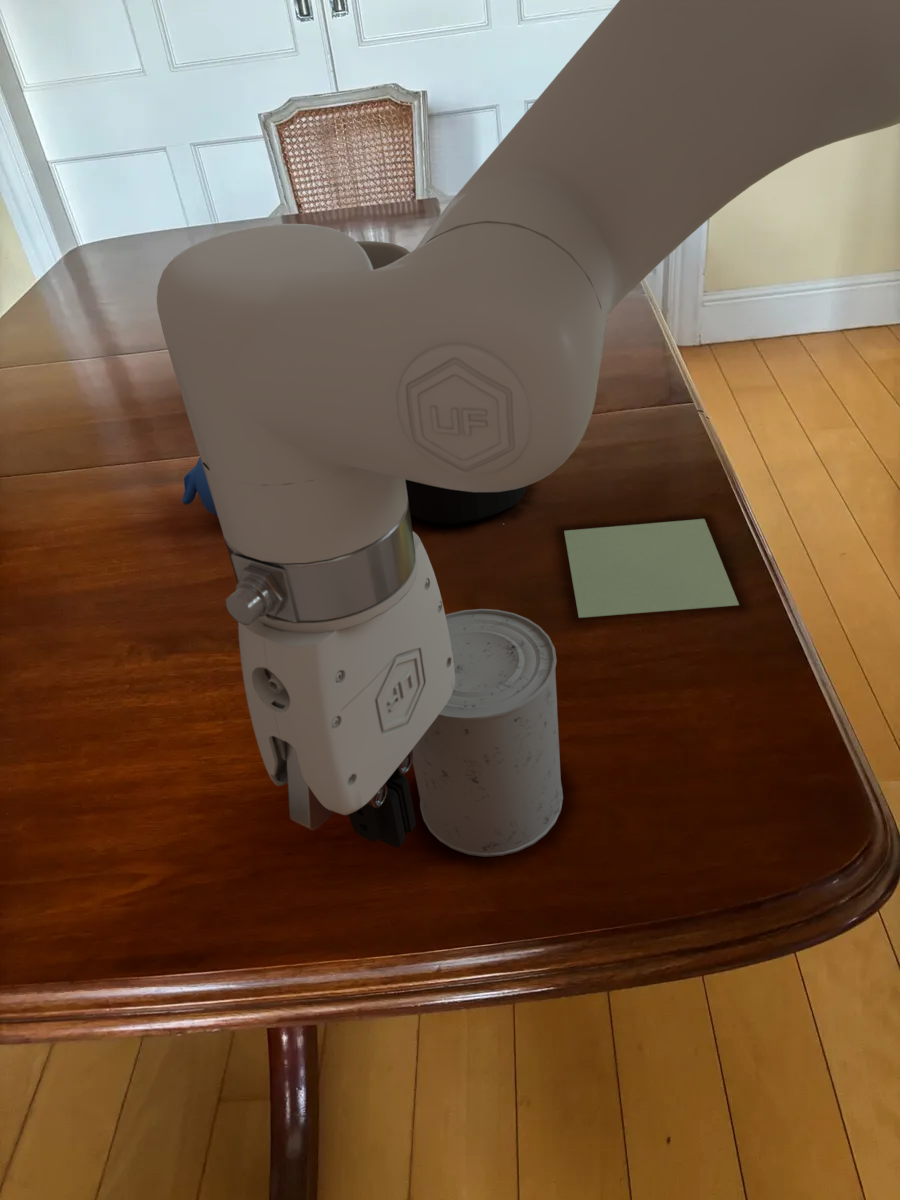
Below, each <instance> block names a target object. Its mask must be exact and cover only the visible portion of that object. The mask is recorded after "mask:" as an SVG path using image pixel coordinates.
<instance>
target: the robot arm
mask: <svg viewBox="0 0 900 1200" xmlns="http://www.w3.org/2000/svg"><path fill="white" fill-rule="evenodd" d="M899 124H900V0H618V2H617V3H616V4H615V5H614V7H613V8H612V9H611V10H610V11H609V13H608V14H607V15H606V17H605V18H604V19H603V20H602V21H601V22H600V23H599V25H598V26H596V28H595V29H594V31H593V32H592V33H591V34H590V36H588V38H587V39H586V40H585V41H584V43H583V44H582V45H581V46H580V48H579V49H578V50H576V52H575V53H574V54H573V56H572V57H571V58H570V59H569V60H568V62H567V63H566V64H565V66H563V68H562V69H561V70H560V71H559V72H558V74H557V75H556V76H555V77H554V78H553V80H552V81H551V82H550V83H549V84H548V85H547V87H546V88H544V90H543V91H542V93H541V94H540V95H539V96H538V98H537V99H536V100H535V101H534V103H532V105H531V106H530V107H529V108H528V110H526V112H525V113H524V114H523V115H522V117H521V118H520V119H519V120H518V121H517V123H516V124H515V125H514V126H513V127H512V129H511V130H510V131H509V132H508V133H507V134H506V136H505V137H504V138H503V139H502V141H501V142H500V143H499V144H498V145H497V147H495V149H494V150H493V151H492V152H491V153H490V155H489V156H488V157H487V158H486V159H485V161H484V162H483V163H482V164H481V165H480V166H479V168H478V169H477V170H476V171H475V172H474V174H473V175H472V176H471V177H470V178H469V180H467V182H465V184H464V185H463V187H461V189H460V190H458V192H457V193H456V195H455V196H454V197H453V198H452V200H451V201H450V202H449V203H448V204H447V205H446V207H444V210H443V211H442V212H441V213H440V215H439V216H438V217H437V218H436V220H435V221H434V222H433V224H432V225H431V226H430V227H429V229H428V230H427V232H426V233H425V234H424V235H423V237H422V238H421V240H420V242H419V243H418V244H417V246H416V247H415V249H413V250H412V251H409V252H410V253H409V254H407V255H405V256H403V257H402V258H400V259H398V260H396V261H394V262H393V263H391V264H389V265H387V266H384V267H381V268H378V269H375V270H374V269H373V267H372V264H371V262H370V259H369V257H368V256H367V254H366V252H365V250H364V249H363V248H362V247H361V246H360V245H359V244H358V243H357V242H356V241H357V240H356V239H354V238H353V237H352V236H350V235H348V234H346V233H344V232H343V231H341V230H338V229H335V228H333V227H329V226H323V225H315V224H308V223H307V224H306V223H277V224H265V225H258V226H252V227H251V226H250V227H246V228H241V229H237V230H232V231H227V232H225V233H221V234H218V235H215V236H212V237H209V238H206V239H204V240H202V241H199V242H197V243H194V245H191V246H189V247H188V248H185V249H184V250H182V251H181V252H179V253H178V254H176V255H175V256H174V257H173V258H172V259H171V260H170V262H169V263H168V264H167V265H166V266H165V268H164V269H163V270H162V272H161V274H160V275H161V276H160V278H159V281H158V284H157V289H156V310H157V314H158V317H159V322H160V326H161V330H162V334H163V337H164V340H165V344H166V347H167V351H168V354H169V358H170V361H171V364H172V368H173V370H174V374H175V378H176V382H177V385H178V388H179V391H180V395H181V397H182V398H181V399H182V401H183V405H184V407H185V412H186V415H187V418H188V421H189V425H190V429H191V431H192V435H193V438H194V442H195V446H196V449H197V452H198V456H199V458H200V459H201V462H202V465H203V469H204V472H205V475H206V479H207V482H208V485H209V489H210V492H211V495H212V499H213V502H214V505H215V508H216V512H217V515H218V517H217V518H218V521H219V525H220V529H221V531H222V534H223V540H224V543H225V547H226V550H227V553H228V556H229V560H230V563H231V566H232V567H231V568H232V570H233V573H234V577H235V580H236V583H237V584H236V586H235V591H234V592H232V593H231V594H230V595H229V596H228V597H226V598H225V608H226V609H227V612H228V613H229V615H230V616H231V617H232V618H233V620H235V621H236V622H237V630H238V631H237V632H238V644H239V645H238V647H239V656H240V665H241V672H242V678H243V679H242V680H243V685H244V691H245V698H246V702H247V707H248V713H249V716H250V720H251V725H252V728H253V733H254V735H255V741H256V742H257V746H258V749H259V753H260V756H261V759H262V762H263V765H264V767H265V769H266V772H267V774H268V776H269V778H270V780H271V782H272V783H273V784H274V785H275V786H277V787H282V786H285V785H287V793H288V794H287V795H288V812H289V820H290V821H291V822H293V823H295V824H297V825H299V826H301V827H304V828H306V829H308V830H311V831H316V830H318V829H319V828H320V827H321V826H322V825H324V823H325V822H326V821H328V820H329V819H330V818H331V817H332V816H333V815H335V814H339V815H342V816H348V818H349V821H350V825H351V826H352V829H353V830H354V832H355V833H356V834H357V835H358V836H360V837H361V838H363V839H366V840H368V841H370V842H377V841H380V842H383V843H385V844H387V845H390V846H391V847H394V848H397V849H398V848H400V847H401V846H402V845H403V844H404V842H405V840H406V834H411V832H412V831H413V830H414V828H415V827H416V826H417V822H416V816H415V811H414V805H413V800H412V799H413V798H412V795H411V789H410V782H409V778H407V777H405V775H407V773H409V771H410V769H411V767H412V765H413V747H414V746H415V745H416V744H417V742H418V741H419V740H420V739H421V737H422V736H423V735H424V733H425V732H426V731H427V729H428V728H429V727H430V726H431V724H432V723H433V722H434V720H435V719H436V718H437V716H438V715H439V714H440V712H441V711H442V710H443V708H444V707H445V705H446V704H447V702H448V700H449V699H450V697H451V695H452V692H453V690H454V686H455V670H454V661H453V654H452V648H451V642H450V636H449V631H448V625H447V621H446V616H445V615H446V612H445V607H444V603H443V598H442V595H441V591H440V587H439V584H438V581H437V577H436V574H435V571H434V568H433V566H432V562H431V559H430V558H429V555H428V553H427V550H426V548H425V546H424V543H423V542H422V540H421V538H420V537H419V535H418V534H417V533H416V532H415V531H413V525H412V517H411V514H410V510H409V503H408V495H407V488H406V481H405V479H406V480H410V481H414V482H418V483H422V484H427V485H431V486H436V487H441V488H446V489H452V490H459V491H468V492H502V491H508V490H514V489H518V488H522V487H525V486H527V487H528V486H530V485H533V484H535V483H537V482H540V481H542V480H543V479H545V478H546V477H548V476H550V475H551V474H553V473H554V472H556V471H557V470H558V469H559V468H560V467H561V466H562V465H564V463H565V462H567V460H569V458H570V457H571V455H573V453H574V452H575V451H576V449H577V448H578V447H579V445H580V443H581V441H582V439H583V437H584V436H585V434H586V432H587V428H588V426H589V424H590V420H591V417H592V415H593V412H594V408H595V405H596V404H595V403H596V399H597V392H598V384H599V378H600V372H601V365H602V358H603V354H604V353H603V352H604V343H605V339H606V338H605V337H606V331H607V323H608V316H609V315H610V313H611V312H612V311H613V310H614V309H615V308H616V307H617V306H618V305H619V304H620V302H621V301H622V300H623V299H624V298H625V297H626V296H628V294H629V293H630V292H632V290H634V289H635V288H636V287H638V285H639V284H640V283H641V282H642V281H643V280H644V279H645V278H646V277H647V276H648V275H649V274H650V273H651V272H652V271H653V270H655V268H656V267H658V265H660V264H661V263H662V262H663V261H664V260H665V259H666V258H667V257H669V256H670V255H671V254H672V253H673V252H674V251H675V250H676V249H677V248H678V247H679V246H681V244H683V242H685V241H686V240H687V239H688V238H689V237H690V236H691V235H693V233H695V232H696V231H697V230H698V229H699V228H701V227H702V226H703V225H704V224H705V223H706V222H707V221H708V220H710V219H711V218H712V217H713V216H714V215H716V214H717V213H718V212H719V211H720V210H722V209H723V208H724V207H725V206H726V205H727V204H729V203H730V202H732V201H734V199H736V198H737V197H738V196H740V195H741V194H742V193H744V192H745V191H747V190H748V189H749V188H750V187H752V186H753V185H755V184H756V183H758V182H759V181H761V180H763V179H764V178H766V177H767V176H768V175H771V174H772V173H773V172H774V171H777V170H778V169H780V168H782V167H784V166H785V165H787V164H789V163H791V162H793V161H794V160H796V159H798V158H801V157H802V156H805V155H806V154H809V153H811V152H813V151H815V150H817V149H821V148H824V147H826V146H829V145H831V144H835V143H837V142H841V141H844V140H848V139H851V138H854V137H858V136H862V135H866V134H869V133H873V132H877V131H880V130H884V129H887V128H891V127H893V126H896V125H899Z"/></svg>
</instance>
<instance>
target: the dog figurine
mask: <svg viewBox="0 0 900 1200" xmlns="http://www.w3.org/2000/svg"><path fill="white" fill-rule="evenodd" d="M183 483H184V492H183V496H182V498H181V503H182V504H184V506H188V505H191V504H192V503H193V502H194V501H195V499H196V496H197V493H198V497H199V498H200V501H201V504H202V506H203V508H204V509H205V510H206V511H207V512H208V513H211V514H212V515H213V516H214V517H216V518H218V515H217V512H216V508H215V505H214V502H213V499H212V495H211V492H210V489H209V485H208V482H207V479H206V475H205V472H204V469H203V465H202V462H201V459H200V457H199V458H198V459H197V461H196V464H195V466H194V467H193V468H192V469H190V470H189V471H188V472H187V474H185V476H184V477H183Z"/></svg>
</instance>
